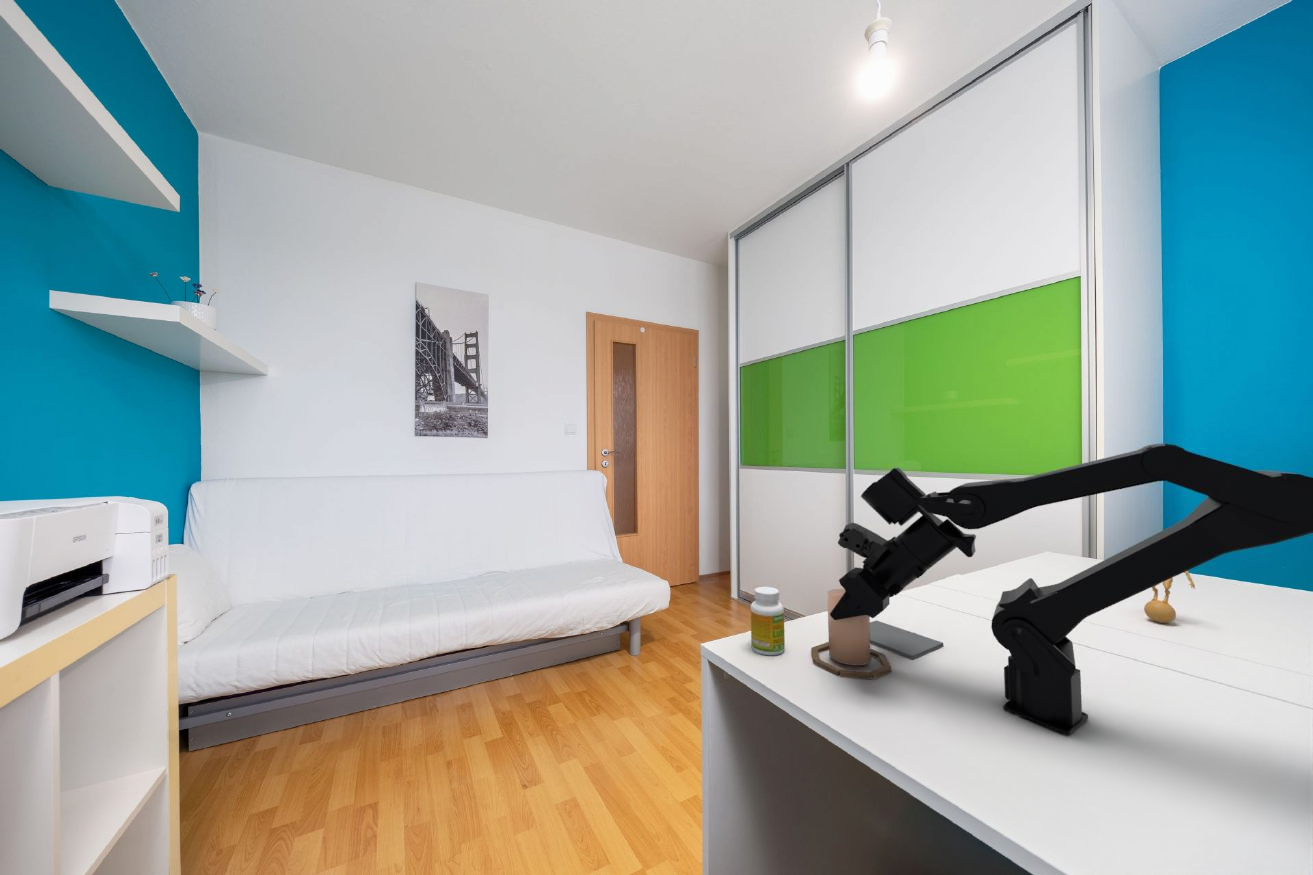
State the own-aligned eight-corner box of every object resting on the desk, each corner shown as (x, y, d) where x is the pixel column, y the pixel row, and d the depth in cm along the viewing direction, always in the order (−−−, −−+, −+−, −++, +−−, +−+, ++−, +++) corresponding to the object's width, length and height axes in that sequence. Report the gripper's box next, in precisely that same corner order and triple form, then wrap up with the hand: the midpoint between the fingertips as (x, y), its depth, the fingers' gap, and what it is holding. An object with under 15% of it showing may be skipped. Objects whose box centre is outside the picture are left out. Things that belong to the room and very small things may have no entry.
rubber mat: (943, 646, 76) (943, 642, 76) (912, 659, 72) (912, 655, 72) (876, 623, 87) (876, 620, 87) (845, 633, 82) (845, 630, 82)
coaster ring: (904, 665, 70) (904, 661, 70) (858, 685, 64) (858, 681, 64) (842, 640, 79) (841, 637, 79) (797, 656, 73) (797, 652, 73)
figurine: (1125, 617, 88) (1122, 554, 88) (1137, 611, 91) (1135, 550, 91) (1189, 632, 81) (1186, 563, 81) (1201, 625, 84) (1198, 559, 84)
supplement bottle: (776, 659, 73) (775, 597, 73) (745, 650, 76) (744, 591, 76) (789, 647, 77) (788, 588, 77) (759, 639, 80) (758, 583, 80)
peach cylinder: (879, 658, 71) (877, 596, 71) (854, 668, 67) (852, 603, 68) (845, 644, 76) (843, 586, 76) (820, 653, 73) (819, 593, 73)
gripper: (887, 501, 77) (823, 558, 84) (852, 514, 63) (778, 582, 69) (944, 555, 72) (871, 611, 78) (920, 582, 57) (833, 649, 64)
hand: (839, 611), depth 73 cm, fingers closed on peach cylinder, 6 cm apart
